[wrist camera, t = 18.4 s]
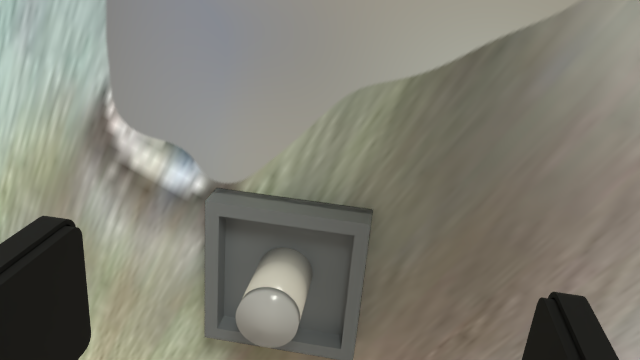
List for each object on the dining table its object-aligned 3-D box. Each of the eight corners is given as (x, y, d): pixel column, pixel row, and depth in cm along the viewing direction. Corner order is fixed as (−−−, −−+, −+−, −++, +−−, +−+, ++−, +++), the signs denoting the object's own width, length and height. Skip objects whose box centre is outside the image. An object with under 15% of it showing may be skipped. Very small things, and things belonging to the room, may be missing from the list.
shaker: (312, 249, 49) (297, 297, 42) (312, 297, 50) (298, 350, 44) (257, 245, 49) (233, 291, 42) (259, 292, 51) (237, 344, 44)
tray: (372, 209, 47) (370, 224, 45) (355, 341, 53) (352, 362, 50) (216, 187, 49) (205, 201, 46) (215, 318, 54) (204, 336, 51)
